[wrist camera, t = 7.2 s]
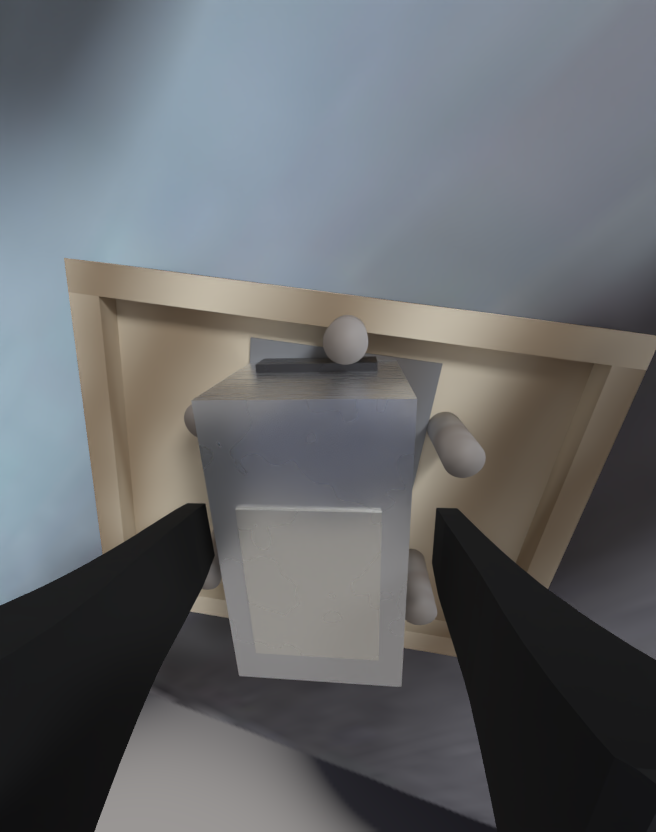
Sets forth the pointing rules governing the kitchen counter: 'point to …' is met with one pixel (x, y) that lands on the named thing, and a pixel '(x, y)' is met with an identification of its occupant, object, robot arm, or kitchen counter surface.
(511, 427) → the tray
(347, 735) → the kitchen counter surface
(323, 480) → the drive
